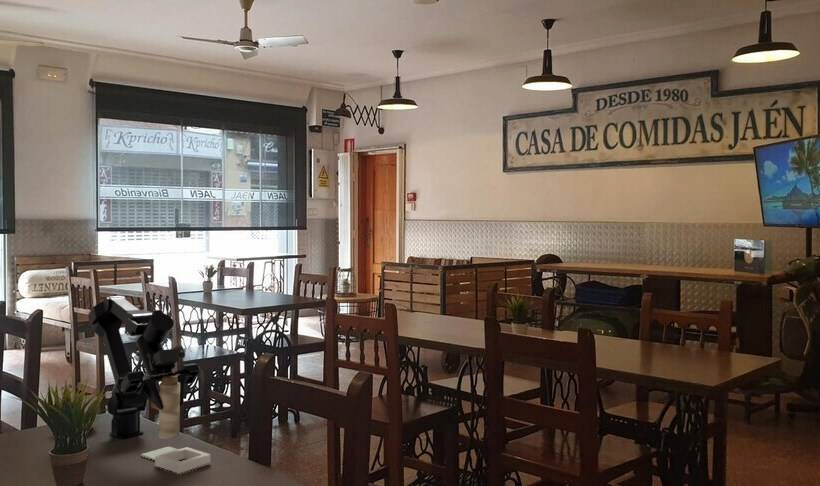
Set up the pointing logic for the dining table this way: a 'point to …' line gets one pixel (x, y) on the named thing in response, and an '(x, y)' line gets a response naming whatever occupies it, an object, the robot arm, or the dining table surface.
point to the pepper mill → (169, 408)
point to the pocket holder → (171, 458)
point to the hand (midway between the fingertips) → (172, 406)
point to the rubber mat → (157, 452)
